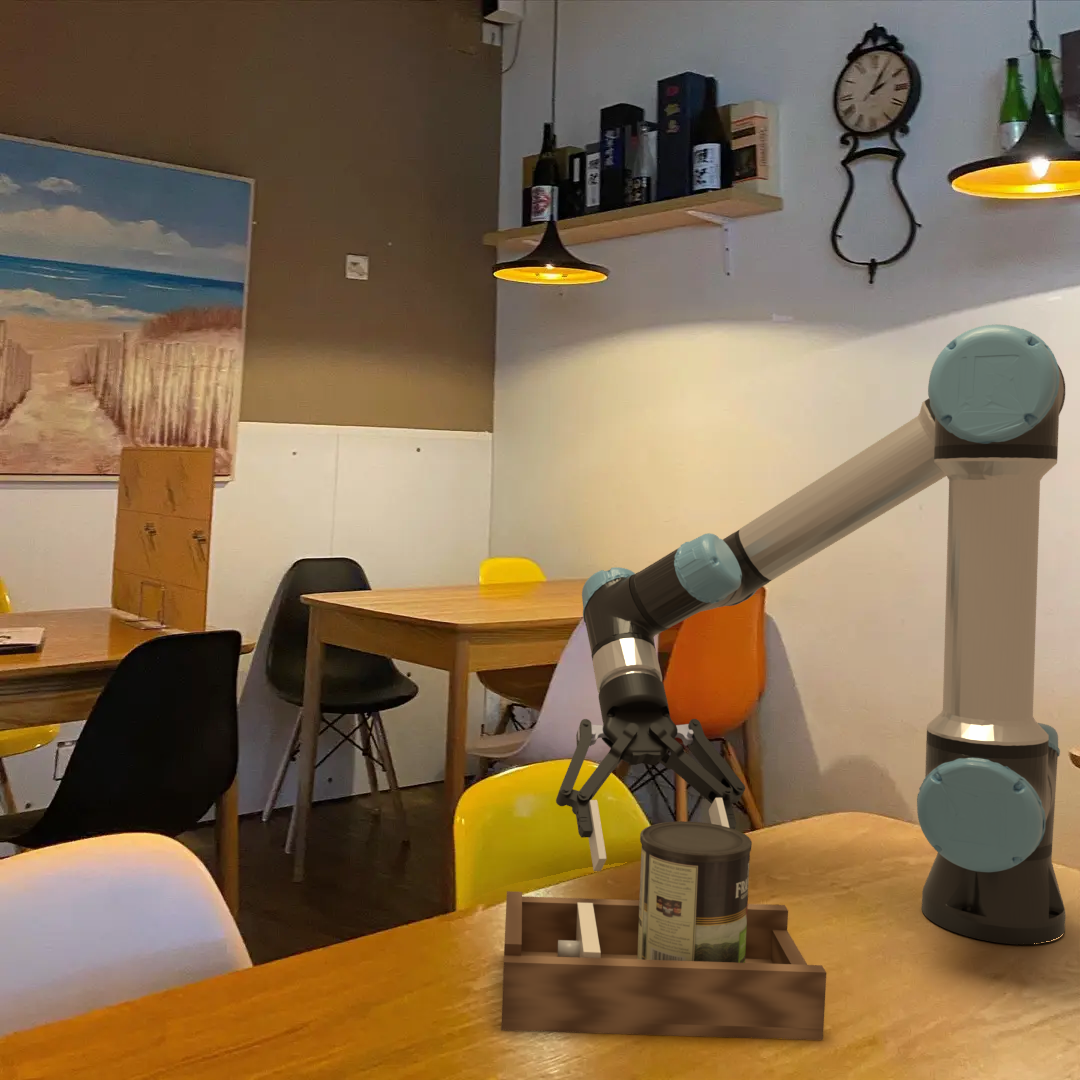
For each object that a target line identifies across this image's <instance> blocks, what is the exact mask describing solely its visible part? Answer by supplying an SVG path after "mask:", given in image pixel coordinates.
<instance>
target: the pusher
mask: <svg viewBox="0 0 1080 1080" xmlns="http://www.w3.org/2000/svg"><path fill="white" fill-rule="evenodd" d="M600 955H601V952H600V946H599V939H598V933H597V927H596V921H595V914H594V908H593V903H577V927H576V941H570V940H558V954H557V957H579V958H600Z"/></svg>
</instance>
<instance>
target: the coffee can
mask: <svg viewBox="0 0 1080 1080" xmlns="http://www.w3.org/2000/svg"><path fill="white" fill-rule="evenodd" d="M639 834H640V836H639V837H640V838H639V840H640V844H641V854H640V877H639V879H640V882H639V899H638V900H639V929H638V956H637V959H641V960H672V961H703V962H735V963H745V950H746V927H747V907H748V904H749V878H750V877H749V876H750V861H751V859H750V858H751V855H750V854H751V851H752V843H753V842H752V840H751V838H750V837H749V836H748V835H746V834H745V833H743V832H741V831H739V830H737V829H736V828H735V829H732V828H728V827H725V826H721V825H716V824H711V823H708V822H702V821H701V822H699V821H668V822H661V823H656V824H652V825H649V826H646V827H645V828H644V829H642V830H641V832H640V833H639Z"/></svg>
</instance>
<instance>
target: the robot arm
mask: <svg viewBox="0 0 1080 1080" xmlns="http://www.w3.org/2000/svg"><path fill="white" fill-rule="evenodd" d="M1065 382H1066V381H1065V377H1064V374H1063V371H1062V369H1061V367H1060V365H1059V363H1058V362H1057V359H1056V356H1055V354H1054V352H1053V351H1052V349H1051V348H1050V346H1049V345H1047V343H1046V342H1045V341H1044V340H1043V339H1042V338H1040V337H1039V336H1038V335H1036V334H1034V333H1033V332H1031V331H1029V330H1027V329H1024V328H1019V327H1018V326H1017V327H1016V326H1013V325H1007V324H987V325H981V326H977V327H974V328H971V329H969V330H967V331H965V332H963V333H961V334H960V335H958V336H956V337H955V338H954V339H952V340H951V341H950V342H948V344H947V345H946V346H944V348H943V349H942V350H941V351H940V353H939V354H938V355H937V357H936V359H935V361H934V362H933V365H932V367H931V370H930V375H929V379H928V386H927V395H928V398H927V399H925V400H924V401H923V402H921V403H922V404H921V407H920V411H919V413H918V415H917V416H915V417H914V418H912V419H910V420H908V422H905V424H903V425H901V426H899V427H898V428H897V429H895V430H893V431H892V432H891V433H889V434H887V435H886V436H884V437H883V438H881V439H880V440H877V441H876V442H875V443H873V444H871V445H870V446H868V447H866V448H865V449H864V450H862V451H860V452H858V453H856V455H854V456H852V457H851V458H849V459H847V460H846V461H844V462H842V463H841V464H839V465H838V466H837V467H835V468H833V469H832V470H830V471H829V472H827V473H826V474H824V475H823V476H821V477H819V478H818V479H816V480H815V481H813V482H812V483H810V484H808V485H806V486H805V487H803V488H801V490H799V491H797V492H795V493H794V494H792V495H791V496H789V497H787V498H786V499H784V500H783V501H781V502H780V503H777V505H775V506H773V507H772V508H770V509H768V510H767V511H765V512H764V513H762V514H761V515H759V516H758V517H756V518H755V519H753V520H751V521H749V522H748V523H747V524H745V525H743V526H742V527H740V528H739V529H738V530H736V531H734V532H732V533H731V534H730V535H729V534H728V536H726V537H725V538H723V539H722V538H719V536H717V534H714V533H710V532H709V533H704V534H702V535H700V536H698V537H696V538H694V539H692V540H690V541H685V542H684V543H681V544H680V546H679V547H678V548H676V549H675V550H673V551H671V552H670V553H667V555H665V556H663V557H661V558H660V559H658V560H657V561H655V562H653V563H651V564H650V565H648V566H646V567H645V568H644V569H642V570H640V571H638V572H634V571H632V569H631V570H630V569H629V568H625V567H617V566H616V567H611V568H610V569H608V570H603V569H602V570H599V571H596V572H595V573H593V574H592V575H590V577H589V578H587V580H585V582H584V585H583V586H582V590H581V599H582V601H581V602H582V608H583V609H582V618H583V622H584V624H585V628H586V631H587V632H586V633H587V637H588V638H587V639H588V643H589V647H590V653H591V659H592V668H593V672H594V679H595V684H596V685H595V686H596V688H597V690H596V691H597V692H598V703H599V707H600V713H601V714H600V715H601V719H602V724H603V725H602V724H600V725H599V724H593V723H592V722H591V720H590V719H587V718H583V719H582V720H581V721H580V723H579V726H578V729H577V732H576V748H575V751H574V753H573V754H572V758H571V760H570V762H569V765H568V767H567V770H566V772H565V775H564V778H563V779H562V783H561V785H560V787H559V790H558V793H557V796H556V799H555V803H556V805H558V806H559V807H565V806H567V807H569V808H571V811H572V813H573V814H574V815H575V818H576V825H577V831H578V835H579V836H580V838H581V839H582V838H588V843H589V849H590V856H591V862H592V869H593V872H601V871H602V869H603V867H604V866H605V864H606V861H607V853H606V847H605V839H604V835H603V829H602V823H601V816H600V809H599V803H598V800H597V799H593V798H594V797H595V795H596V794H597V793H598V791H599V790H600V789H601V787H603V785H604V783H605V782H606V781H607V779H608V778H609V776H610V775H611V774H612V773H613V771H615V770H616V769H617V767H618V766H619V764H620V763H621V761H623V762H625V763H627V764H628V766H636V765H637V766H638V765H640V764H644V765H648V766H657V764H658V763H660V764H661V765H663V767H665V768H666V769H668V770H672V771H673V772H675V774H677V775H678V776H679V777H680V778H681V779H682V780H683V781H685V782H686V783H687V784H688V785H690V787H692V788H693V789H694V790H695V791H696V792H697V793H699V794H700V796H702V797H703V798H704V799H706V800H707V801H708V802H709V803H711V805H710V806H709V809H708V815H709V818H710V819H709V820H710V824H716V825H721V826H725V827H728V828H732V829H735V830H736V828H737V821H736V817H735V813H734V808H733V804H737V803H738V802H739V801H740V799H741V797H742V795H743V794H744V792H745V790H746V785H745V784H744V783H743V781H742V780H741V778H739V777H738V775H737V774H736V772H734V770H733V769H732V768H731V766H730V764H729V763H727V761H726V760H725V759H724V757H723V756H722V755H721V754H720V752H719V751H718V749H716V747H714V745H713V744H712V743H711V742H710V740H709V739H708V738H707V736H706V735H705V733H704V729H703V727H702V724H701V722H700V720H698V719H697V718H692V719H691V720H689V723H685V724H675V722H674V721H673V720H672V718H671V716H670V715H671V714H670V707H669V704H668V703H669V702H668V698H667V695H666V693H667V692H666V689H665V685H664V683H663V676H662V671H661V668H660V667H661V666H660V663H659V658H658V655H657V654H658V653H657V650H656V645H655V637H656V636H658V635H659V634H661V633H662V632H665V631H666V630H669V629H670V628H671V627H673V626H675V625H677V624H679V623H681V622H683V621H685V620H687V619H689V618H690V617H692V616H694V615H697V614H698V613H700V612H705V611H710V610H714V609H717V608H723V607H731V606H733V607H734V606H737V605H739V604H741V603H743V602H745V601H747V600H749V599H750V598H751V597H753V595H755V593H756V592H757V591H758V590H759V589H761V588H763V587H765V586H766V585H768V584H769V583H770V582H772V581H773V580H775V579H777V578H779V577H780V576H782V575H784V574H785V573H786V572H789V571H790V570H791V569H793V568H795V567H796V566H798V565H800V564H801V563H803V562H805V561H807V560H808V559H810V558H812V557H814V556H815V555H816V554H819V553H820V552H822V551H823V550H825V549H827V548H828V547H829V548H830V546H832V545H834V544H835V543H837V542H838V541H840V540H842V539H843V538H845V537H847V536H849V535H850V534H852V533H854V532H855V531H857V530H859V529H860V528H861V527H864V526H865V525H867V524H869V523H870V522H872V521H874V520H875V519H878V518H879V517H881V516H882V515H883V514H885V513H887V512H889V511H890V510H892V509H894V508H895V507H898V506H899V505H901V504H902V503H904V502H905V501H908V500H909V499H910V498H912V497H913V496H915V495H917V494H919V493H920V492H923V491H924V490H925V489H928V488H929V487H930V486H933V485H934V484H936V483H937V482H939V481H940V480H942V479H943V478H946V477H947V479H948V507H947V508H948V510H947V512H948V513H947V542H946V544H947V545H946V546H947V549H946V552H947V553H946V585H945V613H944V614H945V619H944V649H943V650H944V652H943V655H944V656H943V688H942V710H941V712H940V713H939V714H938V715H937V716H935V717H934V718H933V719H932V720H931V721H930V722H929V723H928V724H927V727H926V742H925V743H926V745H925V772H924V773H925V775H924V778H923V780H922V783H921V784H920V787H918V788H919V790H918V793H917V798H916V812H917V818H918V819H917V820H918V822H919V827H920V828H921V831H922V833H923V836H924V837H925V838H926V840H927V842H928V843H929V845H930V846H931V847H932V848H933V849H934V850H935V852H937V853H936V856H935V858H934V861H933V863H932V866H931V869H930V871H929V873H928V875H927V877H926V880H925V882H924V885H923V887H922V891H921V892H922V895H921V911H922V913H923V914H924V916H925V917H926V918H927V919H929V921H931V922H932V923H934V924H936V925H938V926H940V927H942V928H944V929H946V930H948V931H950V932H953V933H955V934H959V935H962V936H965V937H969V938H973V939H976V940H981V941H986V942H991V943H992V942H993V943H996V944H997V943H998V944H1006V945H1018V944H1033V945H1037V944H1036V943H1041V942H1046V941H1051V940H1053V939H1056V938H1058V937H1060V936H1061V935H1062V934H1063V933H1064V934H1065V932H1066V931H1065V930H1066V918H1067V917H1066V916H1067V915H1066V908H1065V905H1064V902H1063V897H1062V894H1061V891H1060V890H1061V889H1060V888H1059V887H1060V886H1059V884H1058V879H1057V876H1056V872H1055V870H1054V866H1053V865H1054V864H1053V861H1052V860H1053V859H1052V856H1053V855H1052V854H1053V841H1054V839H1053V838H1054V825H1055V824H1054V823H1055V806H1056V805H1055V804H1056V790H1057V789H1056V788H1057V776H1058V775H1057V774H1058V760H1059V759H1058V758H1059V757H1060V755H1061V749H1060V748H1059V735H1058V731H1057V730H1056V729H1055V728H1054V727H1053V726H1052V725H1049V724H1045V723H1040V722H1037V721H1036V720H1035V719H1036V718H1035V717H1034V690H1035V663H1036V662H1035V661H1036V659H1035V657H1036V656H1035V655H1036V630H1037V629H1036V628H1037V627H1036V626H1037V625H1036V621H1037V620H1036V619H1037V595H1038V594H1037V591H1038V589H1037V588H1038V563H1039V562H1038V559H1039V532H1040V531H1039V528H1040V527H1039V526H1040V522H1039V521H1040V494H1041V493H1040V491H1041V481H1042V479H1043V477H1044V476H1045V475H1047V473H1048V472H1050V471H1051V470H1052V468H1053V467H1055V466H1056V465H1057V464H1058V454H1059V453H1058V452H1059V451H1058V449H1059V424H1060V415H1061V412H1062V410H1063V407H1064V405H1065V400H1066V383H1065ZM676 738H678V739H681V741H682V744H683V746H682V744H680V743H679V742H678V741H677V740H676ZM598 739H601V740H602V741H603V742H604V743H605V744H606V745H607V747H609V748H610V750H609V751H608V753H607V754H606V755H605V756H604V757H603V759H602V760H601V762H600V763H599V765H597V767H596V768H595V769H594V771H593V773H591V775H590V776H589V777H588V779H587V781H585V783H584V784H583V785H582V787H581V788H580V790H577V789H574V788H575V787H574V786H575V783H576V781H577V779H578V776H579V773H580V771H581V768H582V767H583V764H584V761H585V758H586V757H587V752H588V751H589V749H590V747H591V746H593V745H595V744H596V743H597V740H598ZM684 746H688V748H689V750H690V752H691V753H692V755H693V756H694V758H693V757H692V756H691V755H689V754H688V753H687V752H686V751H685V749H684ZM668 751H669V752H670V754H669V753H668ZM695 759H696V760H695ZM1064 931H1065V932H1064ZM1034 943H1035V944H1034Z"/></svg>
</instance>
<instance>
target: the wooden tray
mask: <svg viewBox="0 0 1080 1080" xmlns="http://www.w3.org/2000/svg"><path fill="white" fill-rule="evenodd" d="M639 900H640V899H616V898H615V899H611V898H610V899H609V898H607V899H606V898H586V897H585V898H582V897H581V898H580V897H554V896H553V897H549V896H523V891H506V904H505V905H506V906H505V921H504V922H505V923H504V924H505V926H504V927H505V928H504V949H503V950H504V951H503V971H502V972H503V974H502V975H503V976H502V977H503V978H502V997H501V998H502V999H501V1000H502V1002H501V1003H502V1004H501V1022H500V1023H501V1025H500V1026H501V1029H500V1030H501V1031H513V1032H514V1031H517V1032H519V1031H520V1032H521V1031H522V1032H549V1033H550V1032H551V1033H553V1032H555V1033H583V1034H610V1035H611V1034H614V1035H615V1034H617V1035H644V1036H645V1035H646V1036H649V1035H650V1036H652V1035H653V1036H674V1037H675V1036H677V1037H707V1038H709V1037H713V1038H714V1037H715V1038H738V1039H739V1038H741V1039H743V1038H744V1039H770V1038H777V1039H779V1038H782V1039H781V1040H802V1039H803V1040H804V1039H806V1040H808V1041H823V1040H824V1027H825V1010H826V1009H825V1005H826V988H827V986H826V985H827V971H826V970H825V968H824V967H823V965H821V964H807V962H806V960H805V958H804V957H803V955H802V953H801V952H800V949H799V947H798V946H797V944H796V943H795V941H794V939H793V938H792V936H791V934H790V933H789V931H788V920H789V910H788V908H787V906H786V905H785V904H768V903H767V904H765V903H762V904H761V903H748V907H747V927H746V950H745V963H735V962H703V961H672V960H641V959H637V956H638V929H639ZM577 903H593V908H594V914H595V921H596V927H597V933H598V939H599V946H600V952H601V955H600V958H579V957H557V954H558V940H570V941H576V927H577ZM751 1037H752V1038H751ZM784 1038H785V1039H784ZM777 1039H776V1040H777ZM779 1040H780V1039H779Z"/></svg>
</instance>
